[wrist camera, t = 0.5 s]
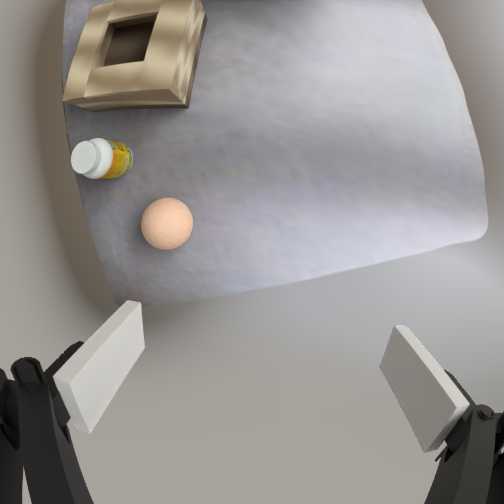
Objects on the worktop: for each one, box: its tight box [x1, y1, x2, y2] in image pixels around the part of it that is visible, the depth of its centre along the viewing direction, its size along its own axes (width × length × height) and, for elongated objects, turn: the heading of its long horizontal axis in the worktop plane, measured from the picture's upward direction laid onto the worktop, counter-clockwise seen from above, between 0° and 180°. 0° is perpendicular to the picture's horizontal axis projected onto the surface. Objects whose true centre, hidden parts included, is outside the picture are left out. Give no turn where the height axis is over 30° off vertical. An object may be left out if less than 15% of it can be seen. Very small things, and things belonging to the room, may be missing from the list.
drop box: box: [62, 0, 207, 112], centre depth 28 cm, size 16×16×9 cm
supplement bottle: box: [71, 138, 133, 179], centre depth 31 cm, size 5×5×10 cm
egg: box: [141, 198, 193, 250], centre depth 34 cm, size 7×7×8 cm
